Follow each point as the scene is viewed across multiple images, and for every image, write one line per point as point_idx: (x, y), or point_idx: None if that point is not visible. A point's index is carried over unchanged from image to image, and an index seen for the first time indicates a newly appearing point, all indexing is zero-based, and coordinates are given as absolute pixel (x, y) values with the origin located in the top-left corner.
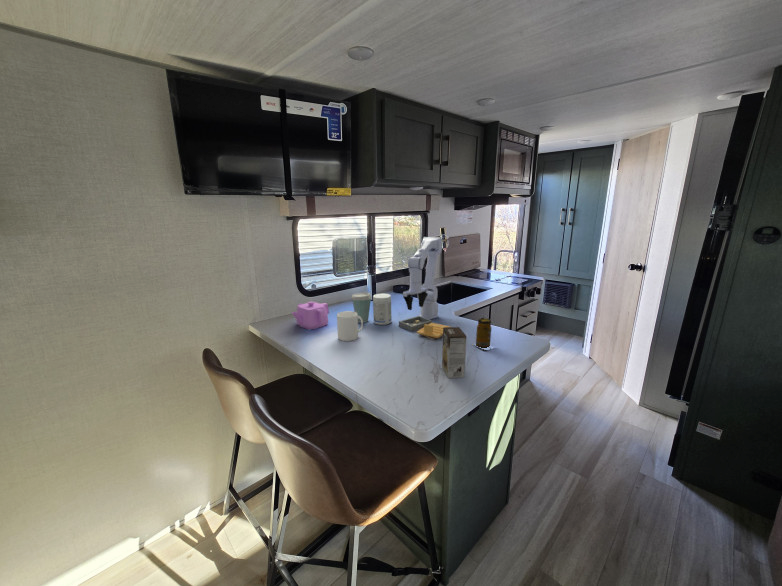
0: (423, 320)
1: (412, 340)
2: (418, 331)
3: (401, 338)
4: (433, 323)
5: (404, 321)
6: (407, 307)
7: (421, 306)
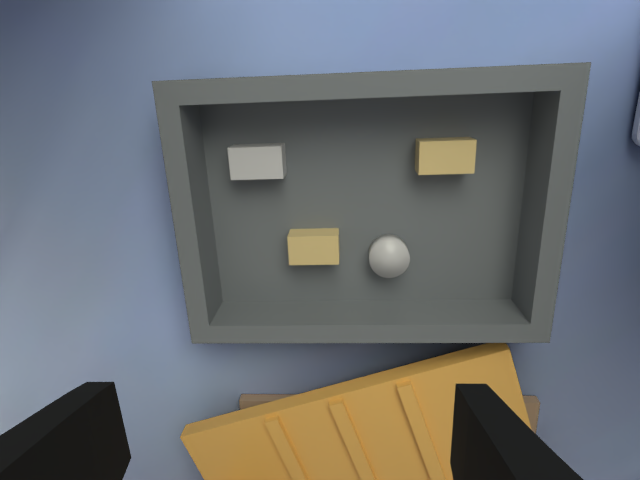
0: (532, 192)
1: None
2: (197, 442)
3: (36, 373)
4: (503, 382)
5: (251, 102)
6: (50, 408)
7: (453, 462)
